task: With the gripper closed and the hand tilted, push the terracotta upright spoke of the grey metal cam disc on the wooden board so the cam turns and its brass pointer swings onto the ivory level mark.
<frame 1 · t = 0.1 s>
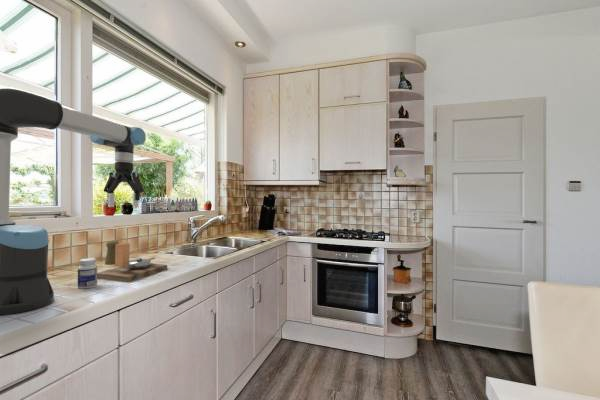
hand: (123, 207, 136), 28 cm above the countertop, tool pointing down, fingers open, 13 cm apart
pill bottle: (87, 287, 105), on the countertop
cork: (112, 263, 141), on the countertop
wooden board: (133, 273, 124), on the countertop
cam: (137, 254, 126), point 8 cm above the countertop, hinge at 0.0°
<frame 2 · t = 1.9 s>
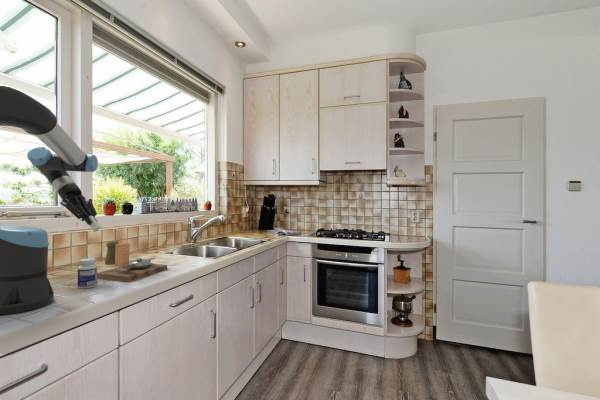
hand: (97, 229, 122), 19 cm above the countertop, tool tilted 45°, fingers closed
nothing on the countertop moved.
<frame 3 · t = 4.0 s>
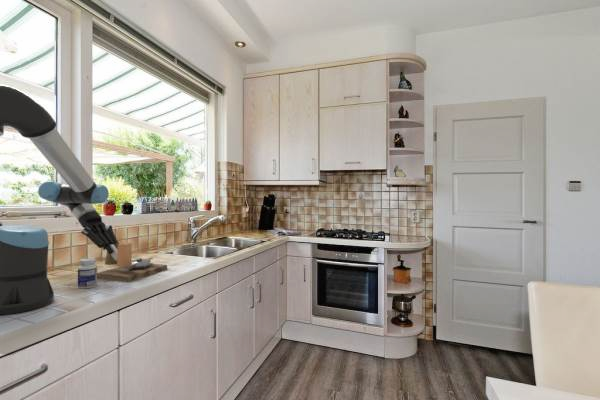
hand: (118, 258, 119), 7 cm above the countertop, tool tilted 45°, fingers closed
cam: (138, 254, 126), point 8 cm above the countertop, hinge at 6.5°, touching gripper
everything else where it was.
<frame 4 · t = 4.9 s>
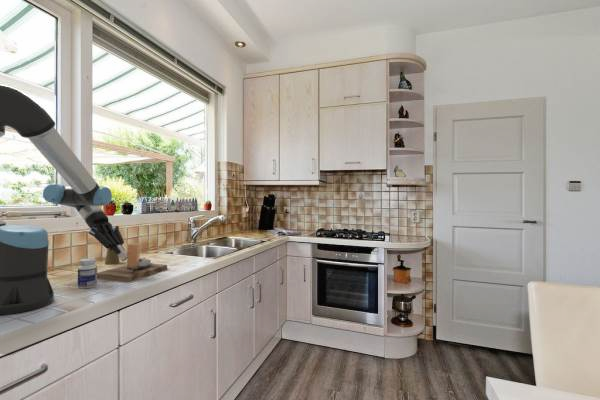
hand: (125, 258, 119), 7 cm above the countertop, tool tilted 45°, fingers closed
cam: (138, 254, 126), point 8 cm above the countertop, hinge at 28.9°, touching gripper
everything else where it was.
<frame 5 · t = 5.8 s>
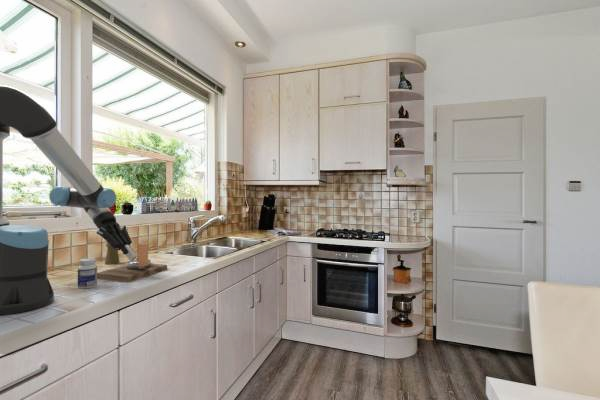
hand: (133, 258, 119), 7 cm above the countertop, tool tilted 45°, fingers closed
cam: (139, 254, 126), point 8 cm above the countertop, hinge at 50.0°, touching gripper
everything else where it was.
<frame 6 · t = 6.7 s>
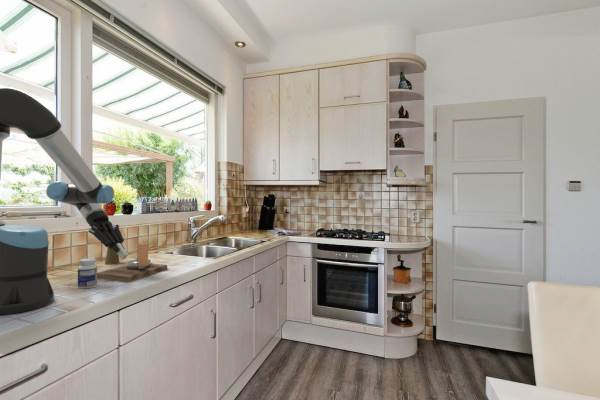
hand: (125, 257, 121), 8 cm above the countertop, tool tilted 45°, fingers closed
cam: (139, 254, 126), point 8 cm above the countertop, hinge at 50.1°
everything else where it was.
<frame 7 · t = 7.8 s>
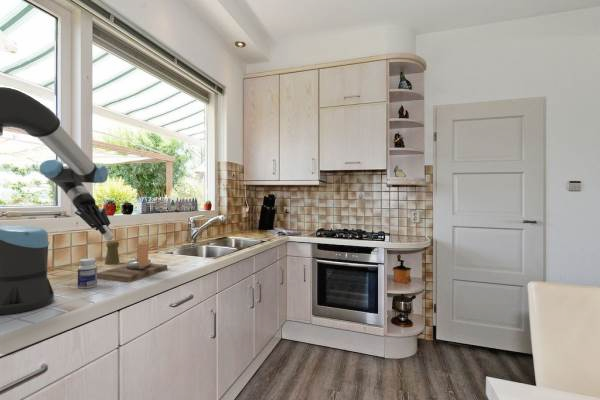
hand: (110, 238, 123), 15 cm above the countertop, tool tilted 45°, fingers closed
nothing on the countertop moved.
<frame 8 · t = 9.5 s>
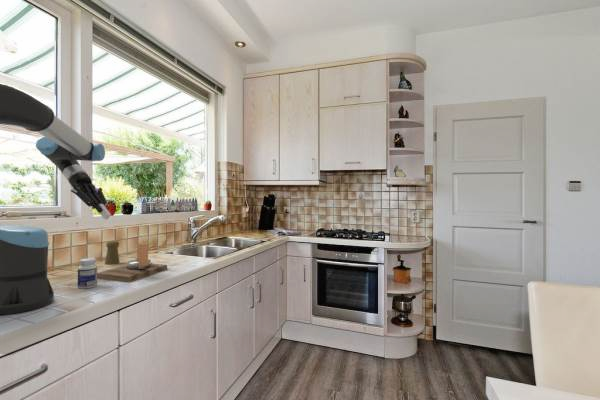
hand: (107, 217, 123), 24 cm above the countertop, tool tilted 45°, fingers closed
nothing on the countertop moved.
at the end: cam at +50° (first picture: +0°); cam touching nothing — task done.
